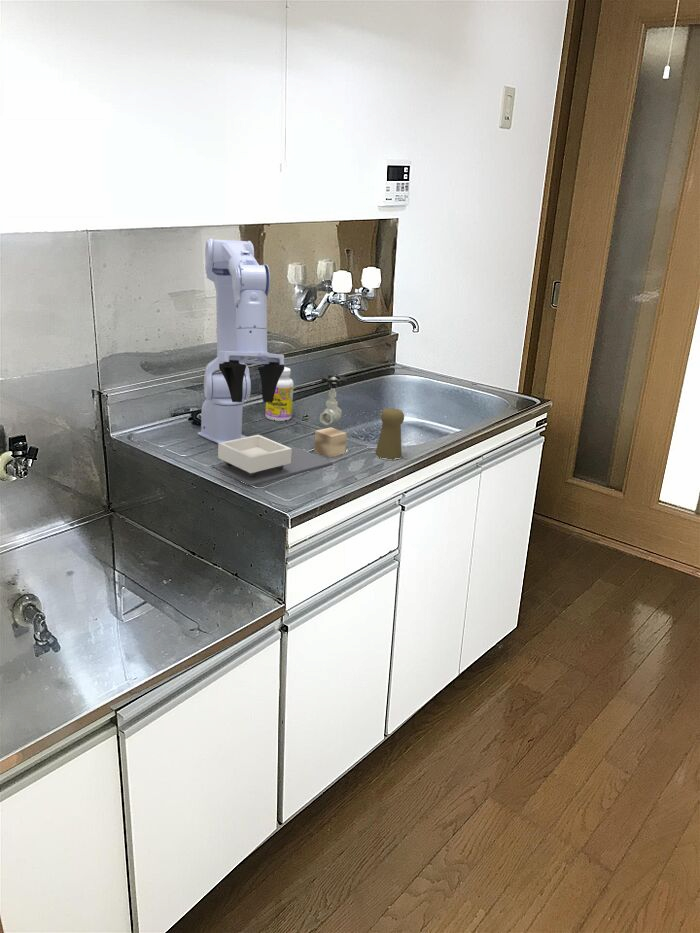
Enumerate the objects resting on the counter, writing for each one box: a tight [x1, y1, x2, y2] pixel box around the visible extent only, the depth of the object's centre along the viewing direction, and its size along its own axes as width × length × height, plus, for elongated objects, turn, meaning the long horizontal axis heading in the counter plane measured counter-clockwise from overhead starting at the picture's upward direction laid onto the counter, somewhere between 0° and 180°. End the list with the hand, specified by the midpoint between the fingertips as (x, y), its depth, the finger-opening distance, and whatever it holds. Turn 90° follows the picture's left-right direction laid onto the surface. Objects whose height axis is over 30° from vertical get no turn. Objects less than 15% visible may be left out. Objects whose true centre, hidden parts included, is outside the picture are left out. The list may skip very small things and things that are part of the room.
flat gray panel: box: [212, 446, 333, 487], centre depth 165 cm, size 12×23×1 cm, turn 136°
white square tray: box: [217, 434, 292, 477], centre depth 160 cm, size 11×11×5 cm
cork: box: [375, 407, 405, 459], centre depth 176 cm, size 6×6×11 cm
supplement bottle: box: [265, 366, 294, 422], centre depth 196 cm, size 7×7×13 cm
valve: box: [319, 373, 347, 427], centre depth 195 cm, size 7×7×12 cm
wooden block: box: [313, 426, 348, 459], centre depth 175 cm, size 5×5×5 cm
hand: (252, 402), depth 147 cm, fingers open, 7 cm apart
